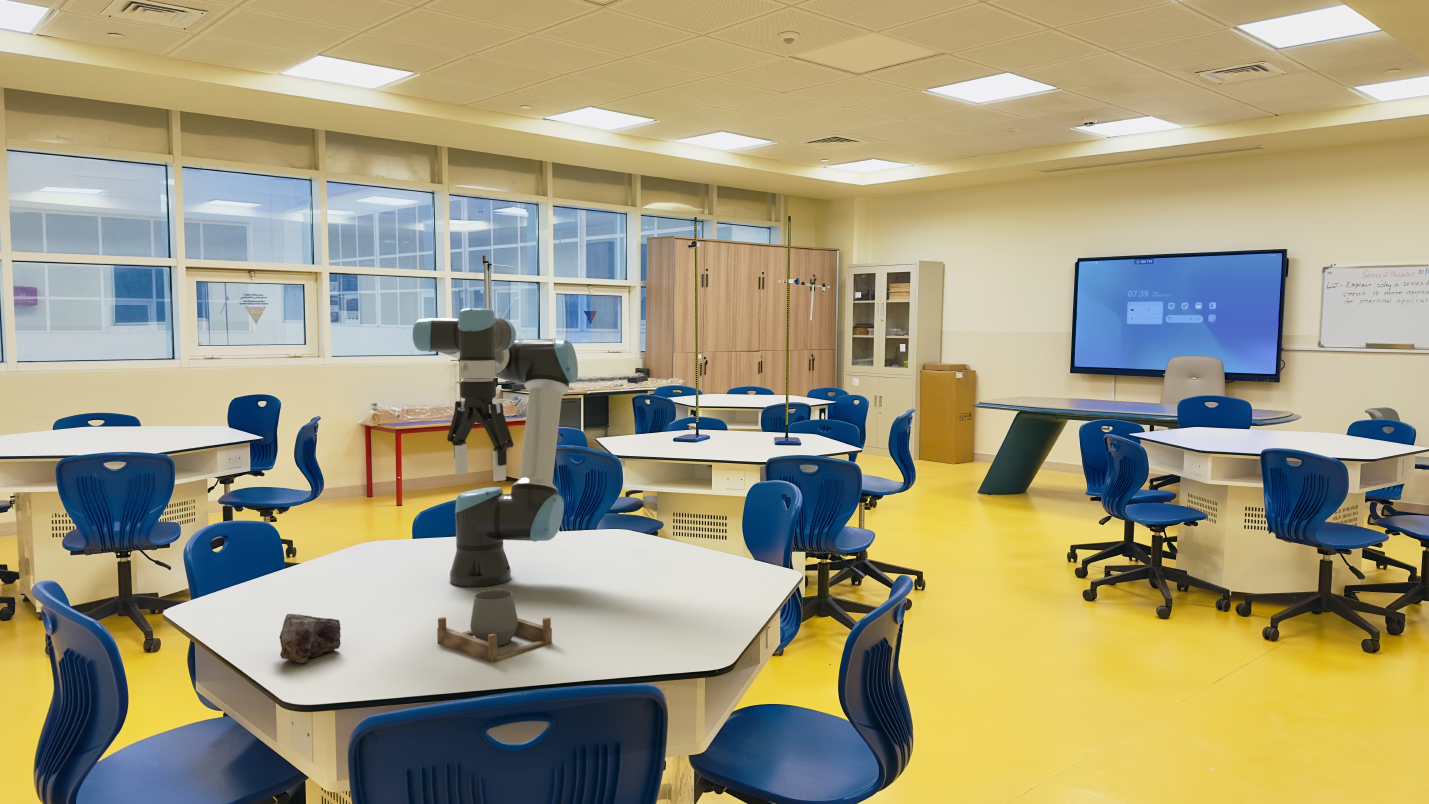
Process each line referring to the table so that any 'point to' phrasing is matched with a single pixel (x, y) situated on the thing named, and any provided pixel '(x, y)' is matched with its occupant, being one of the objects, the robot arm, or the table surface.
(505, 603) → the cup
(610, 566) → the table surface
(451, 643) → the frame
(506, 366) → the robot arm
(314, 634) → the rock
